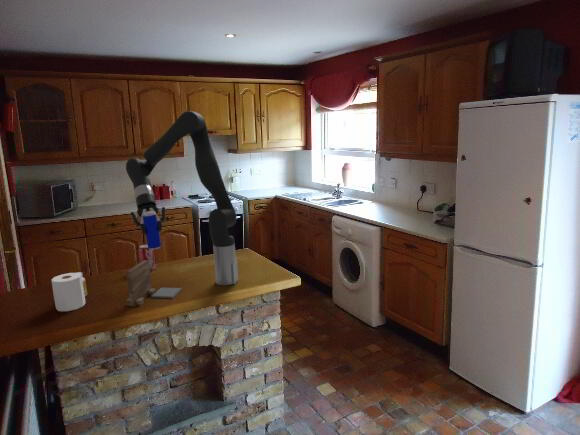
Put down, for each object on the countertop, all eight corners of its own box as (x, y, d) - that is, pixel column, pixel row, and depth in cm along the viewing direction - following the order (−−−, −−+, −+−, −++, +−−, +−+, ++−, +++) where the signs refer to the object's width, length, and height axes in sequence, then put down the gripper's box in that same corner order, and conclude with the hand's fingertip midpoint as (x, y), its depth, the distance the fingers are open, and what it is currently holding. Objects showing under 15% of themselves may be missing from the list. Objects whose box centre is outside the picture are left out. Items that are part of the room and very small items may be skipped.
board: (156, 292, 178) (153, 260, 175) (140, 306, 164) (136, 271, 161) (143, 292, 179) (139, 260, 176) (125, 305, 165) (121, 271, 162)
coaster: (181, 289, 180) (181, 288, 180) (172, 298, 171) (172, 296, 171) (161, 289, 181) (161, 287, 181) (151, 297, 172) (151, 295, 172)
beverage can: (164, 246, 174) (158, 210, 170) (155, 250, 170) (149, 213, 166) (154, 245, 176) (148, 210, 173) (145, 249, 172) (139, 213, 168)
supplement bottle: (90, 294, 179) (87, 272, 176) (80, 299, 174) (76, 276, 172) (80, 292, 180) (76, 271, 178) (69, 297, 175) (66, 275, 173)
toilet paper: (50, 308, 165) (45, 279, 162) (75, 299, 174) (71, 271, 171) (66, 313, 160) (61, 283, 157) (91, 303, 169) (86, 274, 166)
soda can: (158, 267, 211) (155, 243, 208) (152, 271, 204) (149, 247, 201) (144, 267, 211) (141, 243, 209) (138, 271, 205) (135, 247, 202)
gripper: (162, 200, 183) (171, 233, 175) (127, 206, 178) (134, 240, 170) (162, 190, 177) (170, 223, 169) (126, 195, 172) (132, 230, 164)
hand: (152, 231), depth 169 cm, fingers closed on beverage can, 5 cm apart
